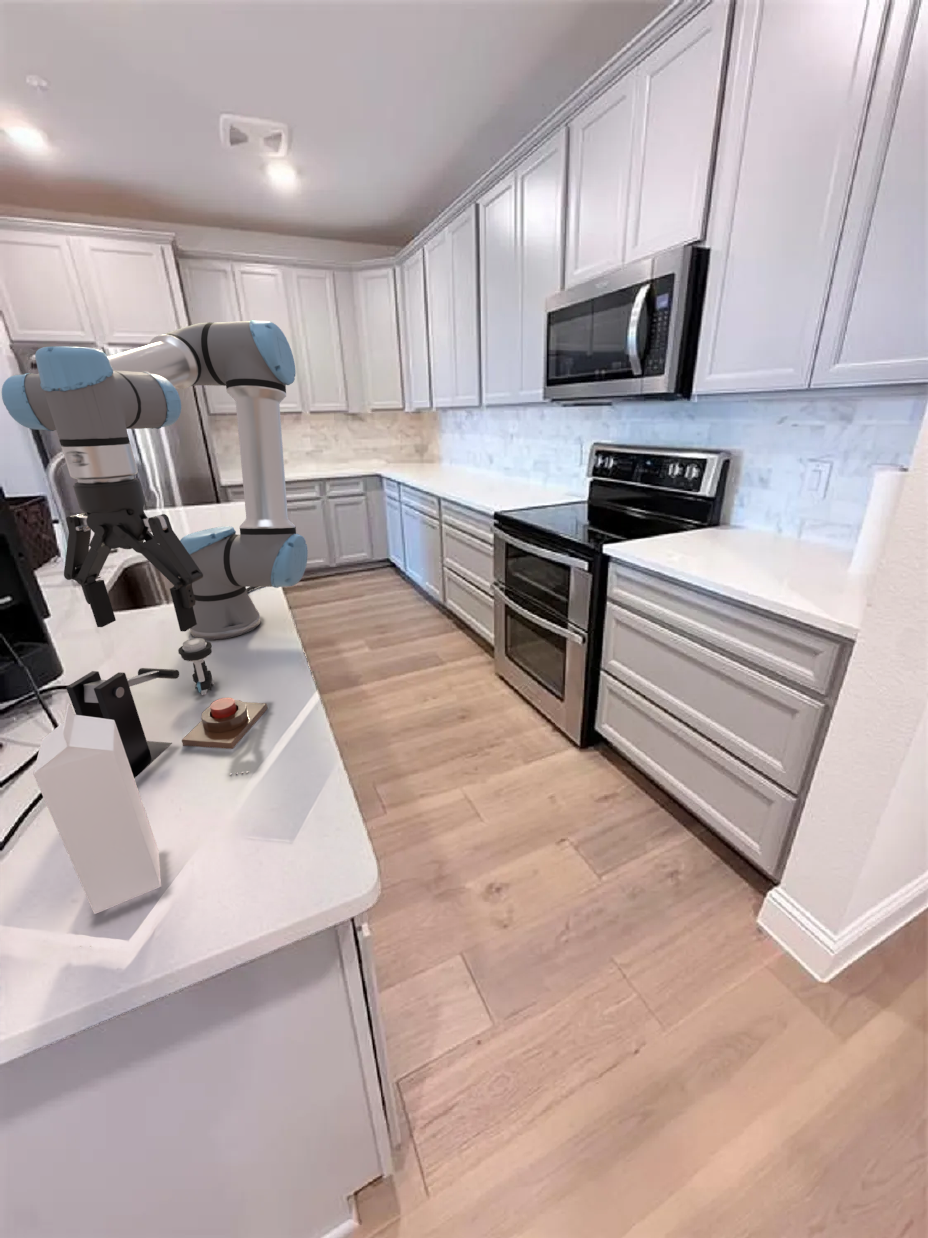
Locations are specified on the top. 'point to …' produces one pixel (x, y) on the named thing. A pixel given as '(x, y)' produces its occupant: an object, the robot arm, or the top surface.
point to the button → (223, 708)
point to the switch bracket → (118, 716)
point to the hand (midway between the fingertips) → (147, 626)
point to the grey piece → (198, 662)
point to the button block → (225, 726)
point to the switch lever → (131, 680)
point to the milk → (98, 810)
